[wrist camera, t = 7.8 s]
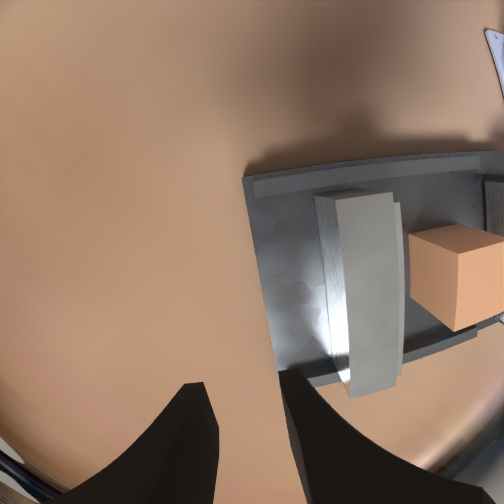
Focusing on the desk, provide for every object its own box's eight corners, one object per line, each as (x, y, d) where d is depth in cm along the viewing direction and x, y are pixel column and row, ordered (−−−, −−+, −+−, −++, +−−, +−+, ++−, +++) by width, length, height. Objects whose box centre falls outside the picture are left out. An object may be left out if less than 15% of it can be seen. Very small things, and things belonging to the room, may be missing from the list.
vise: (498, 150, 16) (544, 150, 11) (497, 315, 19) (533, 340, 14) (241, 177, 16) (240, 176, 12) (278, 380, 19) (286, 430, 15)
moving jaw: (366, 187, 16) (400, 190, 12) (376, 348, 18) (402, 383, 14) (313, 194, 16) (335, 200, 12) (332, 359, 18) (350, 398, 14)
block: (458, 223, 16) (511, 239, 12) (458, 282, 17) (505, 310, 13) (408, 233, 17) (458, 254, 12) (410, 297, 18) (453, 332, 13)
